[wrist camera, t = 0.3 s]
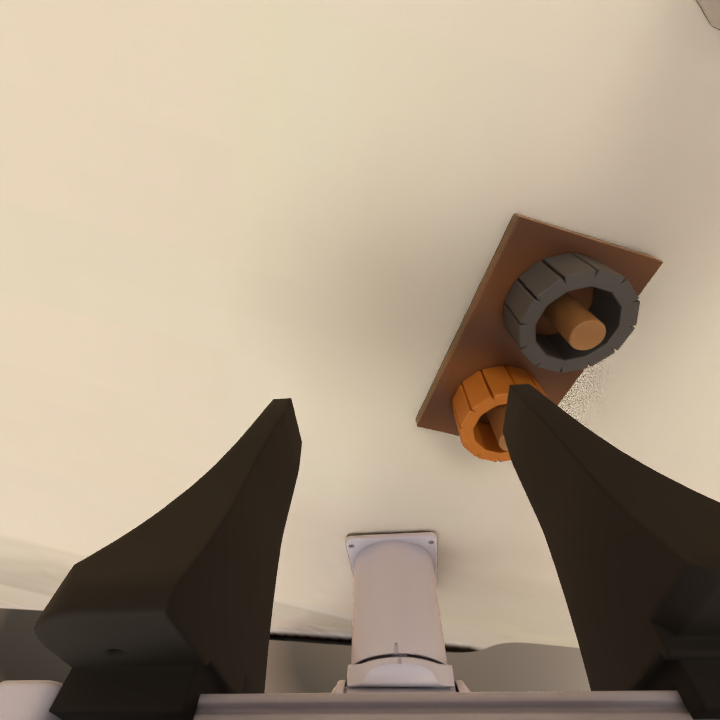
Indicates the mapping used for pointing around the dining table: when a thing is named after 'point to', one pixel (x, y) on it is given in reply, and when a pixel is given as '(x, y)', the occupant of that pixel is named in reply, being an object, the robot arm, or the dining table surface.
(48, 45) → the dining table surface
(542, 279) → the ring
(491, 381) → the amber tape
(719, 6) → the french press
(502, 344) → the rack
